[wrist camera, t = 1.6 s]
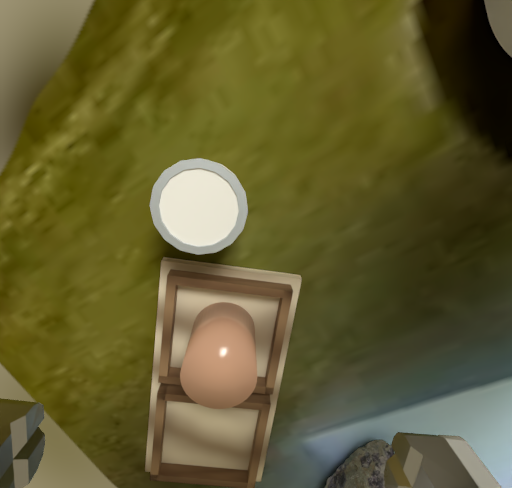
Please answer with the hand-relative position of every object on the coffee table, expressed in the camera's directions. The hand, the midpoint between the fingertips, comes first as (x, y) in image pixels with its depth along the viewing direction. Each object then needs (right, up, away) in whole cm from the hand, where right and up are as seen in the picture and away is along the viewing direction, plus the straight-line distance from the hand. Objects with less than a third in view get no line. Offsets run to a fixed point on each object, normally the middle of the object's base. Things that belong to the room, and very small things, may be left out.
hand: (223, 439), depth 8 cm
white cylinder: (-3, +9, +23) cm, 25 cm away
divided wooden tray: (-3, -9, +29) cm, 30 cm away
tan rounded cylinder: (-2, -4, +26) cm, 26 cm away
